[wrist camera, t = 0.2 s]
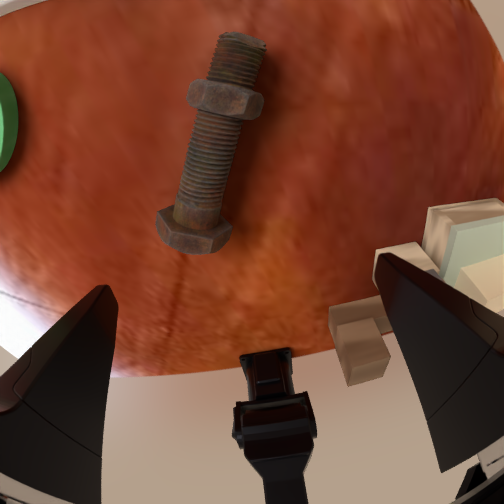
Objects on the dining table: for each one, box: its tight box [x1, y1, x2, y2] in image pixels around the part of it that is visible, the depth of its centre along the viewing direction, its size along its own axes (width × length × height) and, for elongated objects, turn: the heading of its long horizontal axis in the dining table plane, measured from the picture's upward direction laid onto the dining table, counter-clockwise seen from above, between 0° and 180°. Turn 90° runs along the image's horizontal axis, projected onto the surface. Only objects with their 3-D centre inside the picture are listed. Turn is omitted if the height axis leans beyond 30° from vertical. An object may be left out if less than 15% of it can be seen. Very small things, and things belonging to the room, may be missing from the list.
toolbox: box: [372, 198, 504, 291], centre depth 24 cm, size 12×18×9 cm, turn 99°
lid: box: [439, 215, 504, 313], centre depth 22 cm, size 12×12×6 cm
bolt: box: [155, 32, 267, 255], centre depth 18 cm, size 6×5×15 cm
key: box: [328, 278, 446, 387], centre depth 21 cm, size 3×12×6 cm, turn 99°
